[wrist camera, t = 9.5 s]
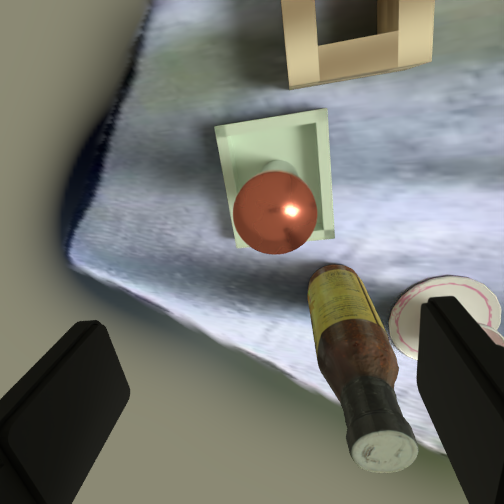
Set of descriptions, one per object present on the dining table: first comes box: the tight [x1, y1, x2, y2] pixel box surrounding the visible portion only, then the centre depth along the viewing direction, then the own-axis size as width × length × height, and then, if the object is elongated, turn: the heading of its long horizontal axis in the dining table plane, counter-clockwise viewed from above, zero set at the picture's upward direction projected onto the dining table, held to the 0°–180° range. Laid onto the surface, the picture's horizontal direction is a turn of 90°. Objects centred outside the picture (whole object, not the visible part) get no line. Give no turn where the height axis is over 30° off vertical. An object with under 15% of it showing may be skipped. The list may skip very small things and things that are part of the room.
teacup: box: [389, 276, 504, 361], centre depth 35 cm, size 12×12×6 cm
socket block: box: [281, 0, 435, 90], centre depth 25 cm, size 10×10×6 cm
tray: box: [214, 108, 335, 248], centre depth 32 cm, size 12×10×3 cm
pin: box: [233, 160, 317, 254], centre depth 27 cm, size 6×6×12 cm
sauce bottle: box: [307, 264, 419, 473], centre depth 29 cm, size 7×6×20 cm
